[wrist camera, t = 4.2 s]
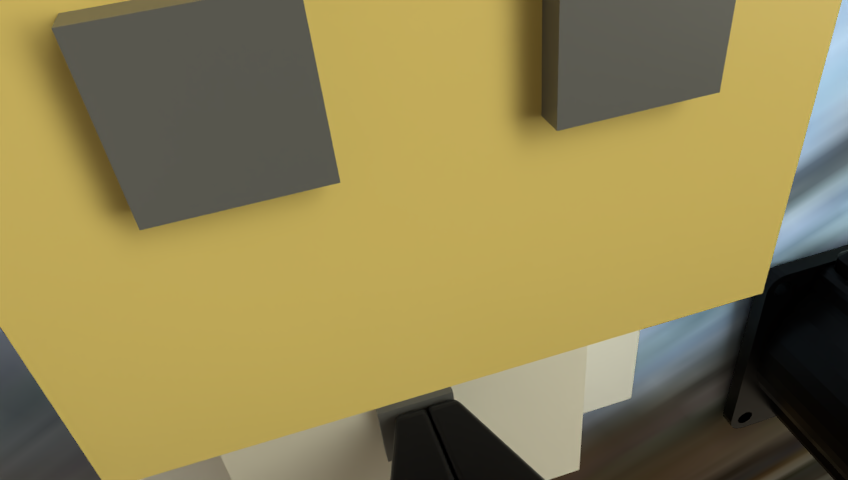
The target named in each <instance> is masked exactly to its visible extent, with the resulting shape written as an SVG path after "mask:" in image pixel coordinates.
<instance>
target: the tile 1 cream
mask: <svg viewBox="0 0 848 480" xmlns="http://www.w3.org/2000/svg"><path fill="white" fill-rule="evenodd" d="M586 361H587V346H585V347H581V348H578V349H575V350H571V351H568V352H565V353H561V354H558V355H554V356H551V357H548V358H544V359H541V360H538V361H534V362H531V363H528V364H524V365H521V366H518V367H514V368H511V369H508V370H504V371H501V372H498V373H494V374H491V375H488V376H484V377H481V378H478V379H474V380H471V381H468V382H464V383H461V384H458V385H454V386H451V387H447V388H444V389H441V390H437V391H434V392H431V393H427V394H424V395H421V396H417V397H414V398H411V399H407V400H404V401H401V402H397V403H394V404H391V405H387V406H384V407H381V408H377V409H374V410H371V411H367V412H364V413H361V414H357V415H354V416H350V417H347V418H344V419H340V420H337V421H334V422H330V423H327V424H324V425H320V426H317V427H314V428H310V429H307V430H304V431H300V432H297V433H294V434H290V435H287V436H284V437H280V438H277V439H274V440H270V441H267V442H264V443H260V444H257V445H254V446H250V447H247V448H243V449H240V450H237V451H233V452H230V453H227V454H223V455H220V456H221V458H222V460H223V462H224V465H225V467H226V469H227V471H228V473H229V475H230V478H231V480H390V477H391V465H392V453H393V441H394V429H395V420H396V418H397V417H398V416H399V415H401V414H404V413H408V412H411V411H414V410H418V409H425V410H426V411H427V409H428V407H429V406H431V405H434V404H438V403H441V402H444V401H448V400H451V399H454V400H457V401H459V402H460V403H461V404H463V405H464V406H465V407H466V408H467V409H468V410H469V411H470V412H471V413H472V414H474V415H475V416H476V417H477V418H478V419H479V420H480V421H481V422H482V423H483V424H485V425H486V426H487V427H488V428H489V429H490V430H491V431H492V432H493V433H494V434H495V435H497V436H498V437H499V438H500V439H501V440H502V441H503V442H504V443H505V444H506V445H508V446H509V447H510V448H511V449H512V450H513V451H514V452H515V453H516V454H517V455H519V456H520V457H521V458H522V459H523V460H524V461H525V462H526V463H527V464H528V465H529V466H531V467H532V468H533V469H534V470H535V471H536V472H537V473H538V474H539V475H540V476H542V477H543V478H544V479H545V480H550V479H553V478H556V477H559V476H562V475H565V474H568V473H571V472H574V471H577V470H579V466H580V451H581V436H582V421H583V406H584V391H585V376H586Z"/></svg>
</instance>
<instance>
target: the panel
mask: <svg viewBox="0 0 848 480" xmlns="http://www.w3.org/2000/svg"><path fill="white" fill-rule="evenodd" d="M639 333H640V330H638V331H635V332H631V333H628V334H625V335H621V336H618V337H615V338H611V339H608V340H605V341H601V342H598V343H595V344H591V345H588V346H587V361H586V376H585V391H584V406H583V413H586V412H589V411H592V410H596V409H599V408H602V407H605V406H608V405H611V404H614V403H618V402H621V401H624V400H627V399H630V398H631V395H632V387H633V379H634V372H635V364H636V356H637V349H638V341H639ZM140 480H231V478H230V475H229V473H228V471H227V469H226V467H225V465H224V462H223V460H222V458H221V456H217V457H213V458H210V459H207V460H203V461H200V462H197V463H193V464H190V465H187V466H183V467H180V468H177V469H173V470H170V471H167V472H163V473H160V474H157V475H153V476H150V477H147V478H143V479H140Z"/></svg>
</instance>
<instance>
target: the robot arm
mask: <svg viewBox="0 0 848 480" xmlns="http://www.w3.org/2000/svg"><path fill="white" fill-rule="evenodd" d="M723 416H724V417H725V419H726V420H727V421H728V422H729V424H730V425H731V426H732V427H733V428H742V427H745V426H748V425H751V424H754V423H757V422H760V421H763V420H766V419H769V418H772V417H775V416H777V417H778V418H779V420H780V421H781V422H782V423H783V424H784V425H785V426H786V427H787V428H788V429H789V430H790V432H791V433H792V434H793V435H794V436H795V437H796V438H797V439H798V440H799V441H800V443H801V444H802V445H803V446H804V447H805V448H806V449H807V450H808V451H809V452H810V454H811V455H812V456H813V457H814V458H815V459H816V460H817V461H818V462H819V463H820V465H821V466H822V467H823V468H824V469H825V470H826V471H827V472H828V473H829V474H830V476H831V477H832V478H833V479H834V480H848V245H847V246H844V247H840V248H837V249H833V250H830V251H827V252H823V253H820V254H816V255H813V256H809V257H806V258H803V259H799V260H796V261H792V262H789V263H785V264H782V265H779V266H776V267H773V268H771V269H769V272H768V275H767V279H766V283H765V286H764V290H763V293H762V294H758V295H755V296H754V297H753V301H752V305H751V309H750V313H749V317H748V320H747V324H746V328H745V332H744V336H743V340H742V343H741V347H740V351H739V355H738V359H737V363H736V366H735V370H734V374H733V378H732V382H731V386H730V389H729V393H728V397H727V401H726V405H725V409H724V412H723ZM390 480H545V479H544V478H543V477H542V476H540V475H539V474H538V473H537V472H536V471H535V470H534V469H533V468H532V467H531V466H529V465H528V464H527V463H526V462H525V461H524V460H523V459H522V458H521V457H520V456H519V455H517V454H516V453H515V452H514V451H513V450H512V449H511V448H510V447H509V446H508V445H506V444H505V443H504V442H503V441H502V440H501V439H500V438H499V437H498V436H497V435H495V434H494V433H493V432H492V431H491V430H490V429H489V428H488V427H487V426H486V425H485V424H483V423H482V422H481V421H480V420H479V419H478V418H477V417H476V416H475V415H474V414H472V413H471V412H470V411H469V410H468V409H467V408H466V407H465V406H464V405H463V404H461V403H460V402H459V401H457V400H454V399H451V400H448V401H444V402H441V403H438V404H434V405H431V406H429V407H428V409H427V411H426V410H425V409H418V410H414V411H411V412H408V413H404V414H401V415H399V416H398V417H397V418H396V420H395V429H394V441H393V453H392V465H391V477H390Z"/></svg>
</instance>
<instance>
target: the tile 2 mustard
mask: <svg viewBox="0 0 848 480" xmlns="http://www.w3.org/2000/svg"><path fill="white" fill-rule="evenodd" d="M841 2H842V0H0V327H1V329H2V330H3V332H4V333H5V335H6V336H7V338H8V339H9V341H10V342H11V344H12V345H13V347H14V348H15V350H16V351H17V353H18V354H19V356H20V357H21V359H22V360H23V362H24V363H25V365H26V367H27V368H28V370H29V371H30V373H31V374H32V376H33V377H34V379H35V380H36V382H37V383H38V385H39V386H40V388H41V389H42V391H43V392H44V394H45V395H46V397H47V398H48V400H49V401H50V403H51V404H52V406H53V407H54V409H55V410H56V412H57V413H58V415H59V416H60V418H61V419H62V421H63V422H64V424H65V425H66V427H67V429H68V430H69V432H70V433H71V435H72V436H73V438H74V439H75V441H76V442H77V444H78V445H79V447H80V448H81V450H82V451H83V453H84V454H85V456H86V457H87V459H88V460H89V462H90V463H91V465H92V466H93V468H94V469H95V471H96V472H97V474H98V475H99V477H100V478H101V480H140V479H143V478H147V477H150V476H153V475H157V474H160V473H163V472H167V471H170V470H173V469H177V468H180V467H183V466H187V465H190V464H193V463H197V462H200V461H203V460H207V459H210V458H213V457H217V456H220V455H223V454H227V453H230V452H233V451H237V450H240V449H243V448H247V447H250V446H254V445H257V444H260V443H264V442H267V441H270V440H274V439H277V438H280V437H284V436H287V435H290V434H294V433H297V432H300V431H304V430H307V429H310V428H314V427H317V426H320V425H324V424H327V423H330V422H334V421H337V420H340V419H344V418H347V417H350V416H354V415H357V414H361V413H364V412H367V411H371V410H374V409H377V408H381V407H384V406H387V405H391V404H394V403H397V402H401V401H404V400H407V399H411V398H414V397H417V396H421V395H424V394H427V393H431V392H434V391H437V390H441V389H444V388H447V387H451V386H454V385H458V384H461V383H464V382H468V381H471V380H474V379H478V378H481V377H484V376H488V375H491V374H494V373H498V372H501V371H504V370H508V369H511V368H514V367H518V366H521V365H524V364H528V363H531V362H534V361H538V360H541V359H544V358H548V357H551V356H554V355H558V354H561V353H565V352H568V351H571V350H575V349H578V348H581V347H585V346H588V345H591V344H595V343H598V342H601V341H605V340H608V339H611V338H615V337H618V336H621V335H625V334H628V333H631V332H635V331H638V330H641V329H645V328H648V327H651V326H655V325H658V324H661V323H665V322H668V321H672V320H675V319H678V318H682V317H685V316H688V315H692V314H695V313H698V312H702V311H705V310H708V309H712V308H715V307H718V306H722V305H725V304H728V303H732V302H735V301H738V300H742V299H745V298H748V297H752V296H755V295H758V294H762V293H763V290H764V286H765V283H766V279H767V275H768V272H769V268H770V264H771V261H772V257H773V253H774V249H775V246H776V242H777V238H778V235H779V231H780V227H781V224H782V220H783V216H784V212H785V209H786V205H787V201H788V198H789V194H790V190H791V187H792V183H793V179H794V175H795V172H796V168H797V164H798V161H799V157H800V153H801V150H802V146H803V142H804V139H805V135H806V131H807V127H808V124H809V120H810V116H811V113H812V109H813V105H814V102H815V98H816V94H817V90H818V87H819V83H820V79H821V76H822V72H823V68H824V65H825V61H826V57H827V53H828V50H829V46H830V42H831V39H832V35H833V31H834V28H835V24H836V20H837V17H838V13H839V9H840V5H841Z"/></svg>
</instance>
